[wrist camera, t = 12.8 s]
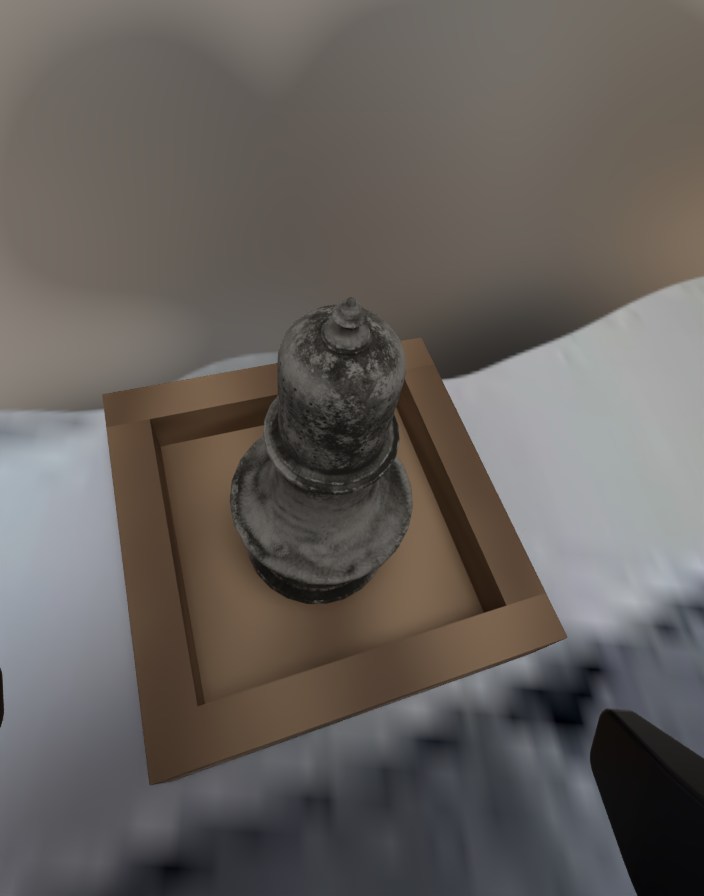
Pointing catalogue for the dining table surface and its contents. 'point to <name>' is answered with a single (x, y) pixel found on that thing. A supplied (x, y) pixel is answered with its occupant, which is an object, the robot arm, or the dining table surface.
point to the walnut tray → (288, 621)
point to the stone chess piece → (327, 460)
